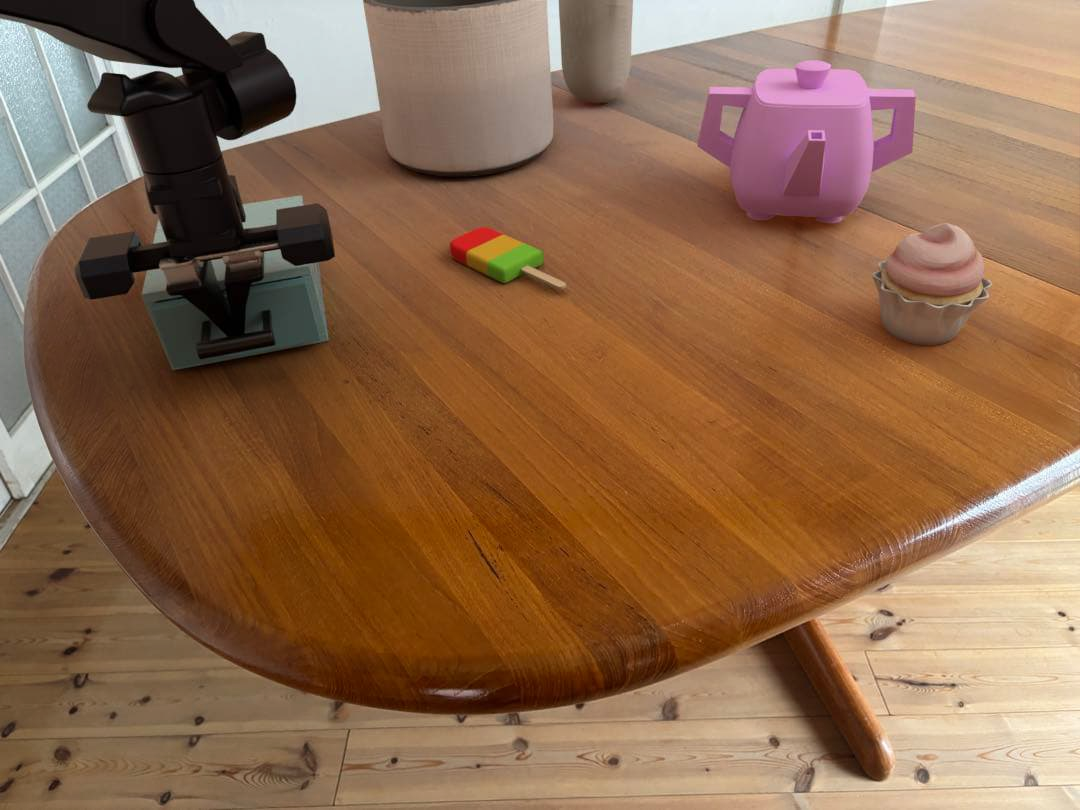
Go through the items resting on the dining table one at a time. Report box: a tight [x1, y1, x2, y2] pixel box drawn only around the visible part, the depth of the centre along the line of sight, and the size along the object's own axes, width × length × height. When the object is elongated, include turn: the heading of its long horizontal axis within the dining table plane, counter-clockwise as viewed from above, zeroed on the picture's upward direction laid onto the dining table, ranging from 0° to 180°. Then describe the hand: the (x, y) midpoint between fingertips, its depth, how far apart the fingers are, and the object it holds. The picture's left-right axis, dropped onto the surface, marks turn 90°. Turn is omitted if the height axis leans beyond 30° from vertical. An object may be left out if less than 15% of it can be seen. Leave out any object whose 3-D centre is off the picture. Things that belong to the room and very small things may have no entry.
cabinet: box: [141, 195, 330, 371], centre depth 78 cm, size 16×14×8 cm
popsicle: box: [449, 226, 567, 290], centre depth 83 cm, size 6×15×2 cm, turn 44°
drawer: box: [152, 276, 321, 368], centre depth 74 cm, size 20×13×6 cm, turn 16°
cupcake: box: [871, 222, 993, 346], centre depth 69 cm, size 9×9×10 cm
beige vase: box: [558, 0, 634, 104], centre depth 116 cm, size 10×10×28 cm
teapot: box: [697, 59, 917, 224], centre depth 88 cm, size 19×18×15 cm
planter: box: [362, 0, 555, 178], centre depth 105 cm, size 23×23×20 cm
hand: (240, 341), depth 69 cm, fingers closed
